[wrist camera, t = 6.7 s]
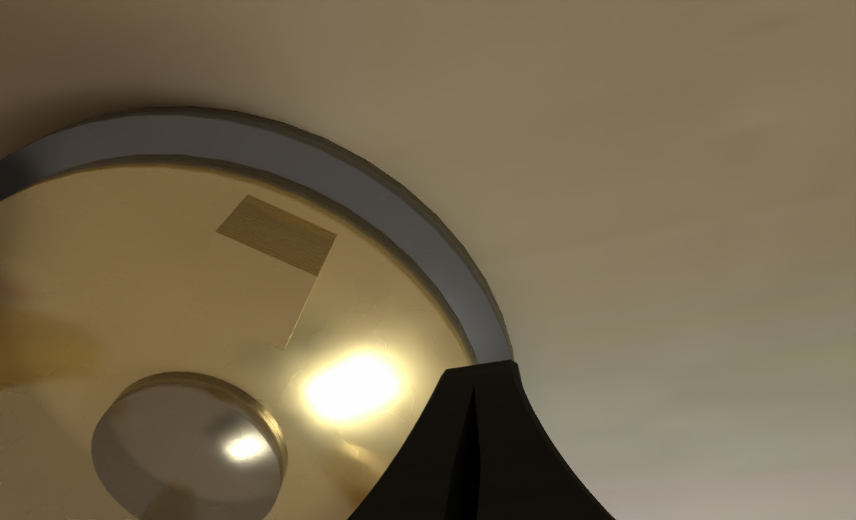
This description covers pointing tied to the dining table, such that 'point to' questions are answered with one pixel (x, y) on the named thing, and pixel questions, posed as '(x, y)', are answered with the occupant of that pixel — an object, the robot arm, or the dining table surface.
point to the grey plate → (292, 160)
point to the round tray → (205, 345)
